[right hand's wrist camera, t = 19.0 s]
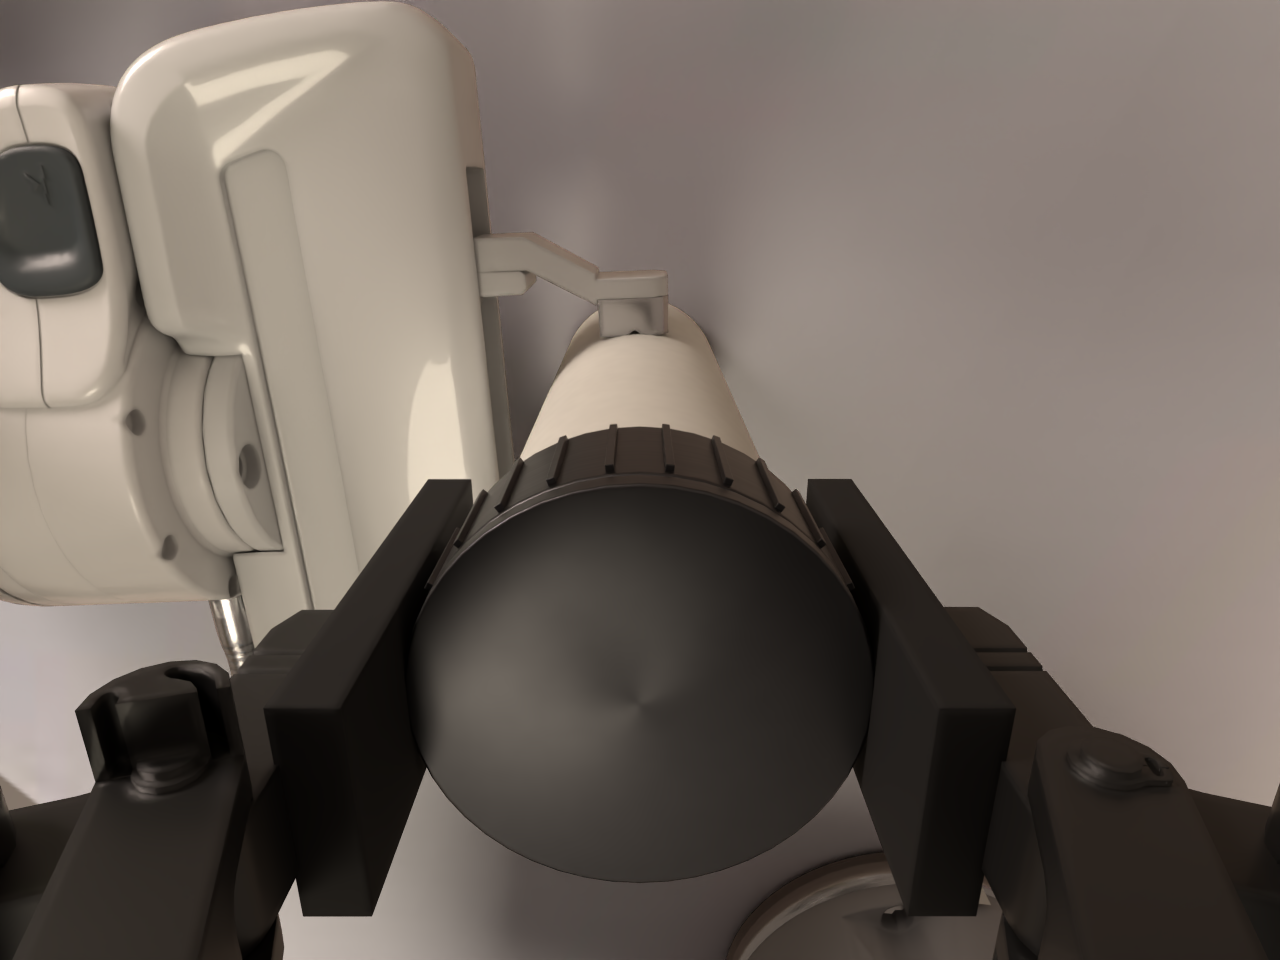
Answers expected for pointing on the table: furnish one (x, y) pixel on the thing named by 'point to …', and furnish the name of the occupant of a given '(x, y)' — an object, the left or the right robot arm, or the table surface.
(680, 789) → the lid
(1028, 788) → the right robot arm
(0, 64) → the table surface
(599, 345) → the cream cylindrical bottle
